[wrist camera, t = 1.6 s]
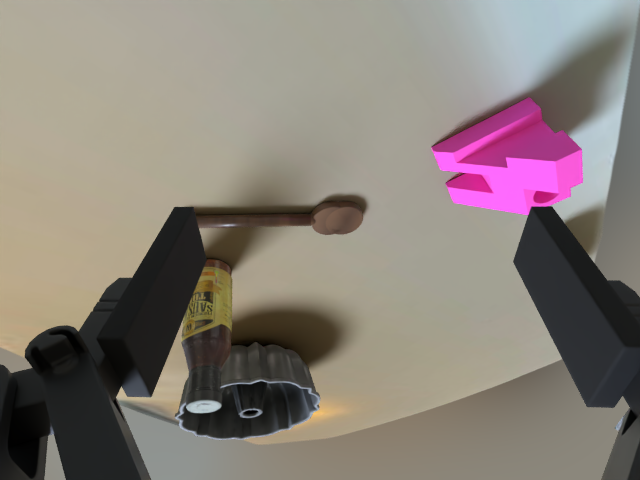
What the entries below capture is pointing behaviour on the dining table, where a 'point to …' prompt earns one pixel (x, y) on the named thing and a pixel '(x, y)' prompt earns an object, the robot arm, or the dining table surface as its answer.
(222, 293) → the sauce bottle
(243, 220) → the wooden spoon
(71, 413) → the robot arm
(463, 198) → the bracket
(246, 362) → the bundt pan
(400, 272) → the dining table surface
